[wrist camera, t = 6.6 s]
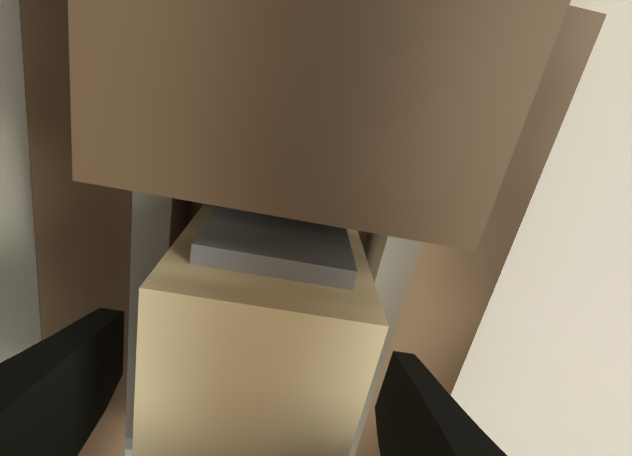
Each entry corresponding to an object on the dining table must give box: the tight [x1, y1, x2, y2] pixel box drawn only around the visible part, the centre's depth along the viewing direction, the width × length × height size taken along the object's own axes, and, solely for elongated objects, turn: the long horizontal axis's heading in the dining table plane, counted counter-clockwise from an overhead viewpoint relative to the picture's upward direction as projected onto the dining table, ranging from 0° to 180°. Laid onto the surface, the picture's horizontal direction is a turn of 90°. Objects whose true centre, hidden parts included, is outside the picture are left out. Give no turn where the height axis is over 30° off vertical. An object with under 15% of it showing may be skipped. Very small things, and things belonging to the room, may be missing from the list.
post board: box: [19, 0, 607, 456], centre depth 13 cm, size 16×28×7 cm, turn 169°
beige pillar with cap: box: [132, 204, 389, 456], centre depth 11 cm, size 4×8×7 cm, turn 169°
